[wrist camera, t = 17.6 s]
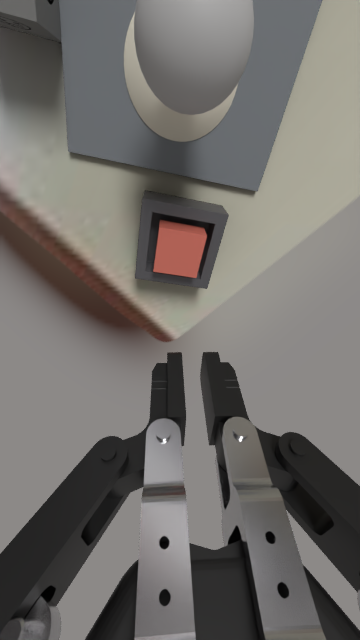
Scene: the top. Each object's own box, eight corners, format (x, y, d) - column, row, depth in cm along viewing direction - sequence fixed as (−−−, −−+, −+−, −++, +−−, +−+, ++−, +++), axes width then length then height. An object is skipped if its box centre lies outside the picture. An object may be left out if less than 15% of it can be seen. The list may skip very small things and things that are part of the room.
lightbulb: (194, 134, 22) (211, 141, 14) (131, 81, 20) (103, 49, 11) (240, 51, 19) (302, -9, 10) (172, -22, 17) (178, -176, 8)
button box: (137, 264, 30) (134, 278, 27) (144, 190, 25) (142, 198, 22) (203, 274, 31) (207, 288, 28) (222, 205, 26) (228, 215, 24)
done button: (154, 261, 27) (153, 271, 25) (159, 219, 25) (159, 227, 23) (194, 267, 28) (196, 278, 26) (203, 227, 25) (207, 235, 23)
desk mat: (69, 151, 23) (67, 151, 23) (53, -134, 15) (49, -142, 14) (256, 190, 26) (257, 191, 25) (330, -32, 17) (334, -36, 17)
